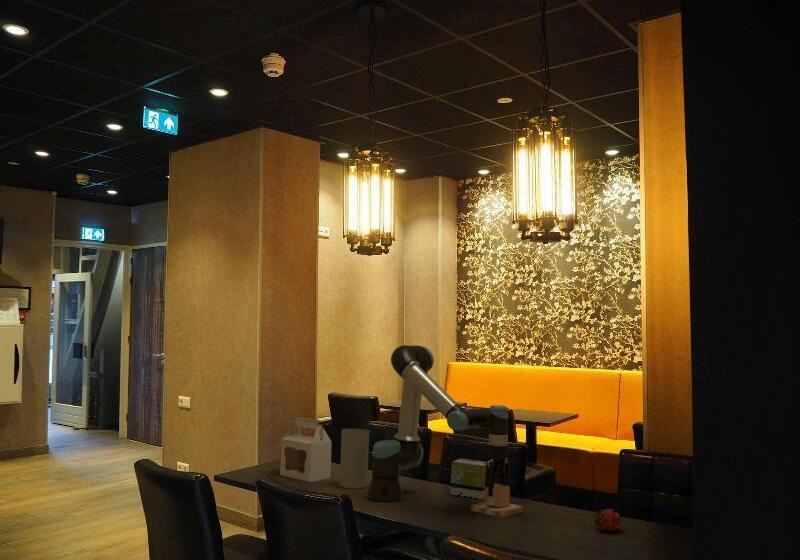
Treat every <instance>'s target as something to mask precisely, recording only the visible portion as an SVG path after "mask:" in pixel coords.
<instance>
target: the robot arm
mask: <svg viewBox="0 0 800 560" xmlns="http://www.w3.org/2000/svg"><path fill="white" fill-rule="evenodd" d="M390 364H391V366H392V369H393V370H394V371H395V372H396V374H397V375H398V376H399V377H400V378H401V379H403V384H402V395H401V403H400V411H399V419H398V420H399V421H398V427H397V428H398V430H397V432H396V433H395V434H394V436H393V439H386V440H379V441H377V442H375V443H374V444H373V447H372V455H371V456H372V460H371V461H372V464H371V465H372V467H371V481H370V483H369V487H368V490H367V493H366V498H367V499H368V500H370V501H373V502H379V503H380V502H382V503H393V502H395V503H396V502H400V501H402V500H403V499H404V493H403V490H402V484H401V480H400V475H401V474H400V471H402V470H406V469H412V468H414V467H416V466H418V465H419V464H420V463H421V462H422V460H423V457H424V447H422V444H421V443H420V442H421V438H420V437H419V436H418V431H419V430H418V429H419V422H420V421H419V420H420V413H421V404H422V403H421V402H422V396H423V397H424V398H425V399H426V400H427V402H429V403H430V404H431V405H432V406H433V407H434V408H435V409H436V410H437V411H438V412H439V413H440V414H441V415H442V416H443V417H444V418H445V420H446V423H447V426H448V427H449V429H451V430H452V431H458V432H459V431H464V430H469V429H470V430H471V429H476V428H479V429H480V428H481V429H488V431H489V432H488V444H489V445H488V454H489V455H490V460H486V461H485V462H486V476H485V486H486V487H488V504H489V505H495V488H494V485H495V484H496V479H497V476H498V473H499V478H500V479H499V480H500V485H504V486H509V487H510V484H511V470H510V469H511V468H510V463H511V458H509V457H508V458H507V457H506V456H507V455H508V453H509V452H508V450H509V446H508V444H509V442H508V441H509V439H508V438H509V418H510V417H509V408H508V407H507V406H505V405H497V404H496V405H490V406H489V409H483V408H482V409H481V408H474V407H470V408H469V407H467V408H463V407H462V406H461V405H460V404H459V403H458V402H456V401H455V399H454V398H453V397H452V396H451V395H449V393H447V392H446V391H445V390H444V389H443V388H442V387H441V386H440V385H439V384H438V383H437V382H436V381H435V380H434V379H433V378H432V377H431V376H430V375H429V374H428V372H429V371H430V370H432V368H433V366H434V355H433V353H432V352H431V350H430V349H429V348H428V347H426V346H422V345H408V344H407V345H405V344H404V345H399V346H397V347H395V349H394V350H393V352H392V353H391V355H390Z"/></svg>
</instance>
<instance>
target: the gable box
mask: <svg viewBox="0 0 800 560" xmlns="http://www.w3.org/2000/svg"><path fill="white" fill-rule="evenodd" d="M293 420H294V422H292V424H291V425H290V426H289V428H288V430H287V431H286V432H285V434H284V435H283V437H282V438H281V449H280V450H281V451H280V453H281V454H280V474H279V475H280V476H283V477H286V478H290V479H294V480H298V481H299V480H300V481H302V482H307V483H312V482H319V481H324V480H330V479H331V471H332V470H331V467H332V443H333V442H332V440H331V438H330V437H329V435H328V433H327V431H325V428H324V427H323V426H322V425H320V420H319V419H318V418H310V417H305V416H304V417H302V416H296V418H294V419H293ZM301 428H306V429H307V428H308V429H311V430H312V429H314V430H315V431H314V434H313V436H311V435H305V434H302V431H301Z"/></svg>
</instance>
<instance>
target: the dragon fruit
mask: <svg viewBox="0 0 800 560" xmlns="http://www.w3.org/2000/svg"><path fill="white" fill-rule="evenodd" d="M595 512H596V515H595V516H594V525H595V526H596V527H599V528H600V529H601V531H602V532H604V533H605V532H607V531H610V532H616V531H617V529H618V527H620V524H622V523H621V522H622V521H621V519H620V514H619V513H618V512H617V511H615V510H614V509H613V508H610V509H609V508H604V509H599V510H597V511H595Z"/></svg>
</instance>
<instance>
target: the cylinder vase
mask: <svg viewBox="0 0 800 560" xmlns="http://www.w3.org/2000/svg"><path fill="white" fill-rule="evenodd" d="M369 440H370V430H368V429H365V428H343V429H341V442H340V445H341V446H340V447H341V448H340V467H339V468H340V469H339V486H340V487H342V488H343V489H350V490H351V489H353V490H358V489H364V488H366V487H367V486H368V474H369V473H368V471H369V445H370V444H369V443H370V442H369Z"/></svg>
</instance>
